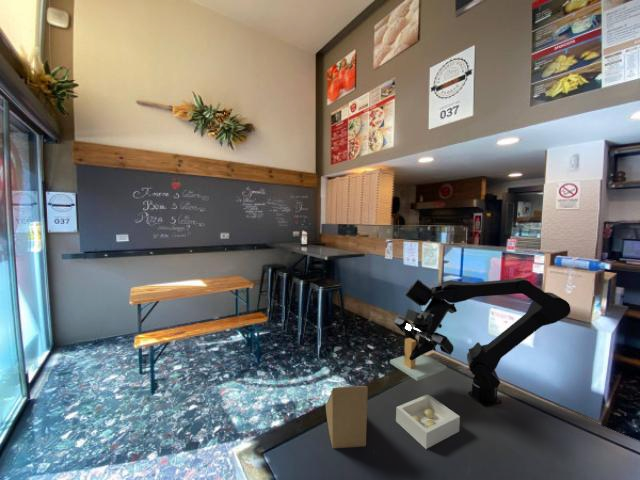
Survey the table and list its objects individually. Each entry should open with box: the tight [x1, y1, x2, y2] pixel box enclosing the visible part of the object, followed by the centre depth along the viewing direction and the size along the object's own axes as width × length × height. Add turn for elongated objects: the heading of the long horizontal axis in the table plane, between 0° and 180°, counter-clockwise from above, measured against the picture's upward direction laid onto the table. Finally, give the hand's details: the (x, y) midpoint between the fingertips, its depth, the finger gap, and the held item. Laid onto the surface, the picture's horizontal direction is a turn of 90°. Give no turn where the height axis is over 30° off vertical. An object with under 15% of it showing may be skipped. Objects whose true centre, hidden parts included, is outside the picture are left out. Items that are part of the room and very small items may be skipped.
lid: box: [389, 338, 447, 382], centre depth 83 cm, size 13×11×10 cm
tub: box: [395, 393, 461, 450], centre depth 71 cm, size 12×10×4 cm
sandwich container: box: [325, 385, 369, 449], centre depth 71 cm, size 9×15×15 cm, turn 5°
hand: (406, 357), depth 81 cm, fingers closed on lid, 2 cm apart
